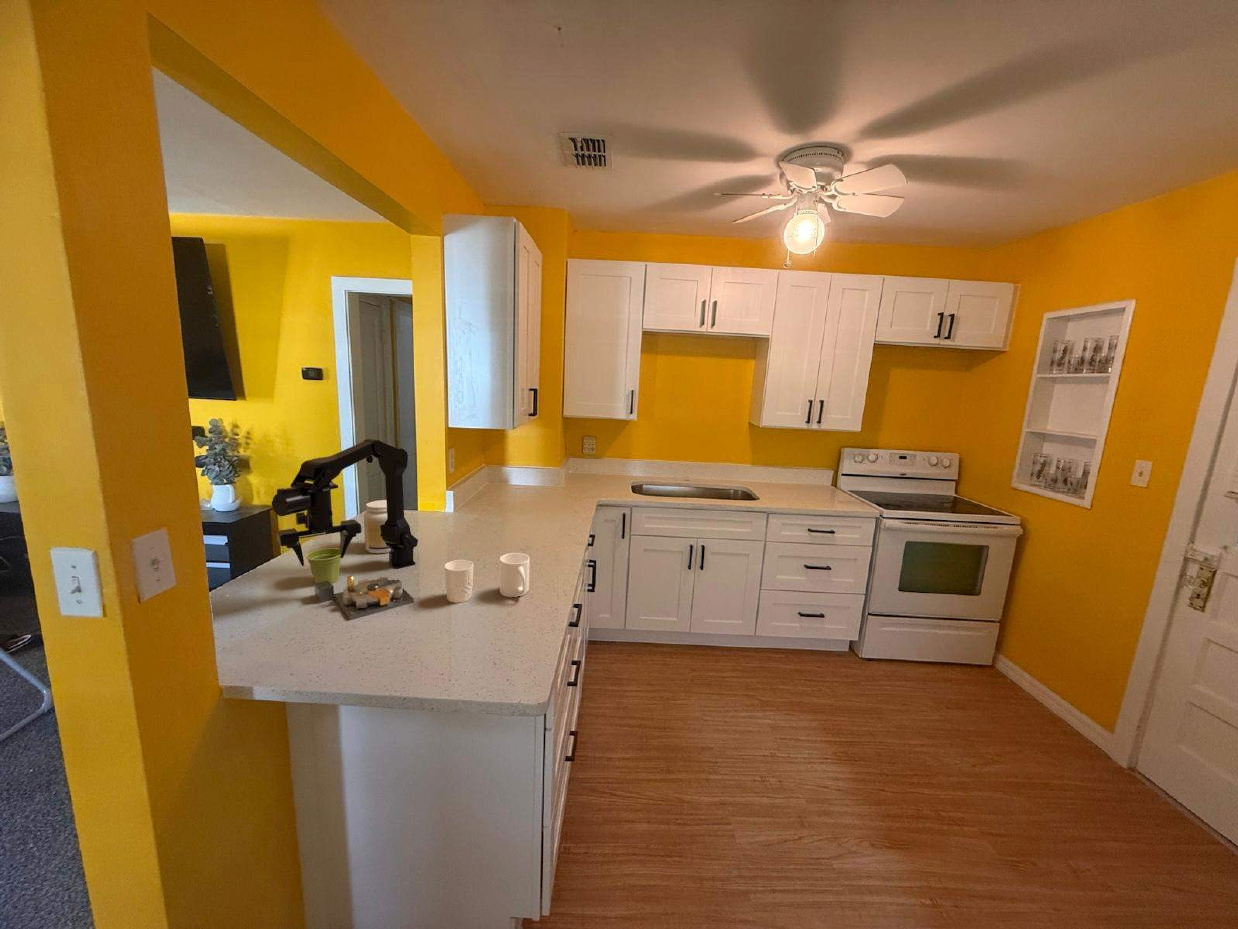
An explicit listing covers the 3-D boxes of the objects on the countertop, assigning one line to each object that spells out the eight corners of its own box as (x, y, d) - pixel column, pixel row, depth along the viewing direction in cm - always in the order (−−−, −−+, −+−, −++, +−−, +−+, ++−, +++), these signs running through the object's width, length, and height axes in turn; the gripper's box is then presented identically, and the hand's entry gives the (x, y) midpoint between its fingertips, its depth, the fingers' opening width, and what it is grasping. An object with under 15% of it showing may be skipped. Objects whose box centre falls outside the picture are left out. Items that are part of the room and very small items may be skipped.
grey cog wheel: (348, 586, 133) (347, 566, 132) (405, 581, 138) (404, 562, 137) (336, 610, 119) (335, 589, 118) (400, 604, 124) (399, 583, 123)
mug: (509, 605, 130) (509, 570, 128) (495, 588, 139) (496, 555, 138) (537, 599, 134) (538, 564, 132) (522, 583, 144) (523, 551, 142)
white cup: (479, 594, 135) (479, 562, 133) (461, 606, 128) (461, 572, 126) (457, 589, 138) (456, 558, 136) (438, 600, 130) (438, 567, 129)
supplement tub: (409, 547, 168) (408, 503, 165) (377, 557, 158) (375, 510, 155) (390, 540, 175) (389, 497, 172) (358, 549, 164) (356, 503, 162)
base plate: (393, 582, 140) (393, 579, 140) (413, 602, 129) (413, 598, 128) (333, 597, 129) (333, 594, 129) (349, 620, 117) (349, 616, 117)
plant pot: (327, 589, 133) (325, 561, 132) (299, 585, 135) (297, 557, 133) (351, 576, 142) (350, 550, 141) (325, 572, 144) (324, 546, 142)
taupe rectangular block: (329, 593, 131) (328, 580, 130) (334, 600, 127) (333, 586, 127) (315, 597, 129) (314, 583, 128) (319, 603, 125) (318, 590, 124)
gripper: (349, 496, 136) (352, 546, 138) (271, 505, 123) (275, 560, 125) (360, 504, 128) (363, 557, 130) (278, 515, 115) (283, 573, 118)
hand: (322, 561), depth 126 cm, fingers open, 9 cm apart
